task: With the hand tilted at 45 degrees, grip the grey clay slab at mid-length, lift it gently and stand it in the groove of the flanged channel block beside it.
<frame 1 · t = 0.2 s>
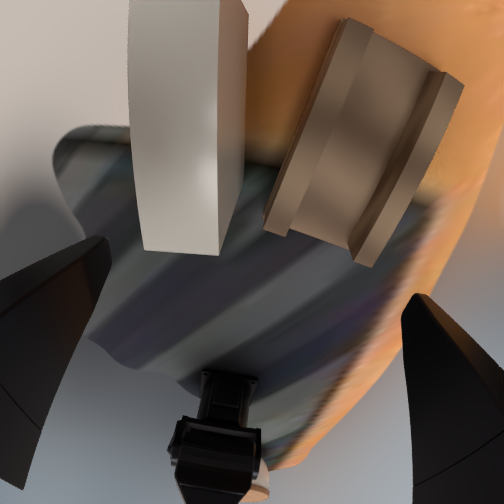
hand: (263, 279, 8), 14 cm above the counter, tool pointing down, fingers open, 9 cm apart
lidded bowl: (236, 449, 47), on the counter
flanged channel block: (354, 140, 20), on the counter
clay slab: (219, 97, 19), on the counter
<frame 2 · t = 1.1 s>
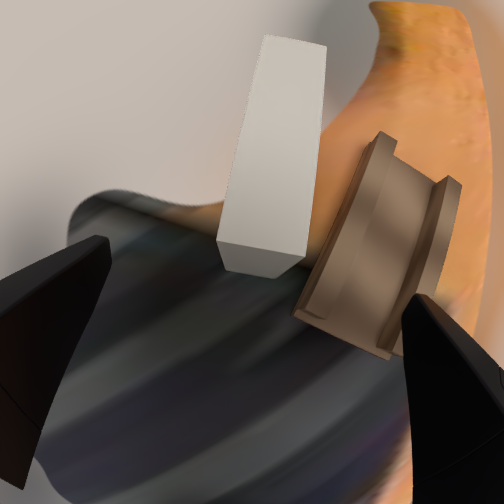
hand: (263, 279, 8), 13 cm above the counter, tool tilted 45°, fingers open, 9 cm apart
flanged channel block: (378, 247, 23), on the counter
clay slab: (264, 194, 23), on the counter
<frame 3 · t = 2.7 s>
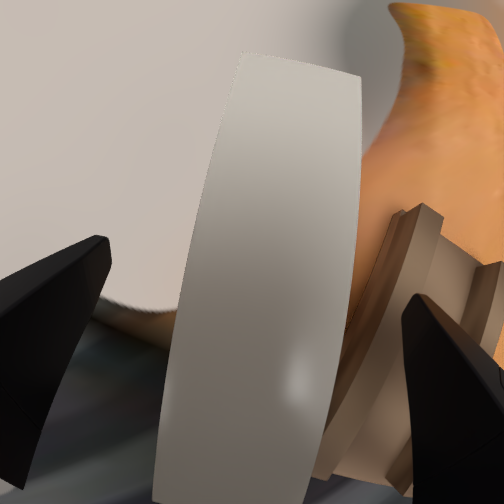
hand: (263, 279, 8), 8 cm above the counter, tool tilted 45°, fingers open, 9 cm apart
flanged channel block: (401, 358, 16), on the counter
clay slab: (250, 295, 16), on the counter
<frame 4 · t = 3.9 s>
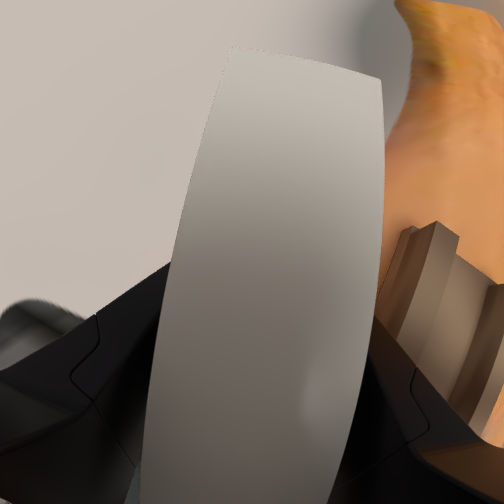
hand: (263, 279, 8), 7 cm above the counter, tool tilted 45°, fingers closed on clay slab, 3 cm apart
flanged channel block: (407, 384, 14), on the counter
clay slab: (246, 321, 15), on the counter, touching gripper
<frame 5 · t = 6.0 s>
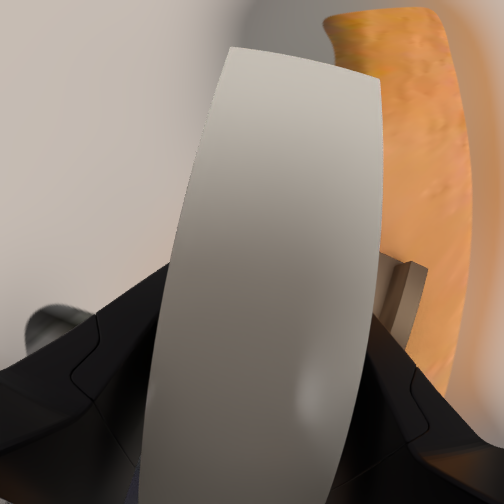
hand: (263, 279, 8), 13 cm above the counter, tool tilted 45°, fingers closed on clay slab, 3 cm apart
flanged channel block: (328, 346, 21), on the counter
clay slab: (246, 320, 15), point 7 cm above the counter, touching gripper
when the fingers open (9 cm above the counter, at t = 8.0 s): clay slab drops 1 cm, resting on flanged channel block.
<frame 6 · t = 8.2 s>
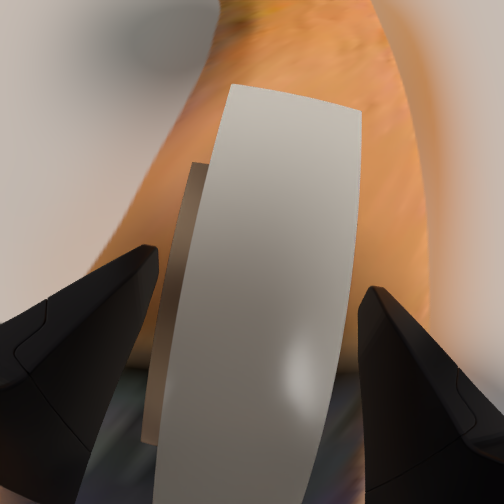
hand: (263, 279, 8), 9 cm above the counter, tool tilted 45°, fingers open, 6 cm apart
flanged channel block: (245, 318, 17), on the counter
clay slab: (245, 319, 16), point 1 cm above the counter, touching flanged channel block
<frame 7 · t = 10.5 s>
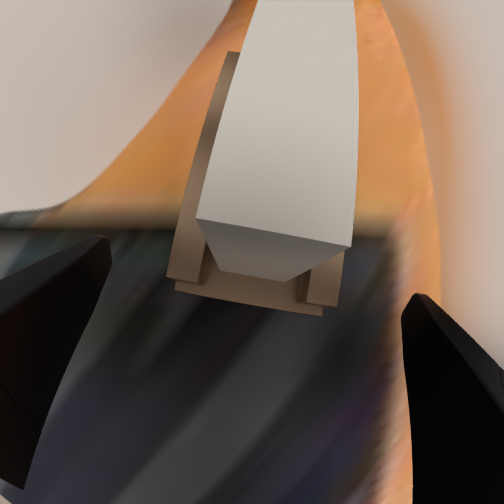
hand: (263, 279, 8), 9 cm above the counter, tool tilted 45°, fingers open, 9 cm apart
flanged channel block: (269, 181, 19), on the counter
clay slab: (270, 173, 18), point 1 cm above the counter, touching flanged channel block
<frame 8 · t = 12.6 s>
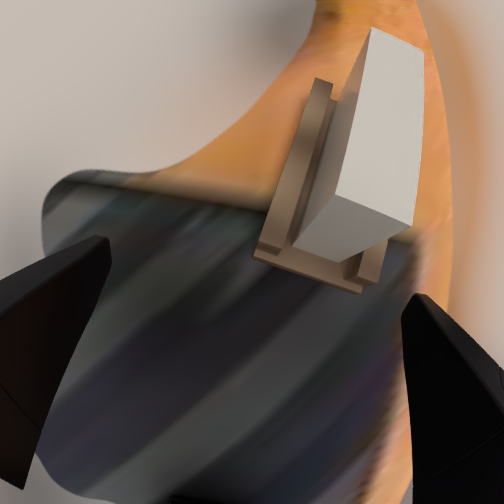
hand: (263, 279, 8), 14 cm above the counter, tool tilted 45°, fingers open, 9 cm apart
flanged channel block: (332, 185, 24), on the counter
clay slab: (336, 179, 22), point 1 cm above the counter, touching flanged channel block
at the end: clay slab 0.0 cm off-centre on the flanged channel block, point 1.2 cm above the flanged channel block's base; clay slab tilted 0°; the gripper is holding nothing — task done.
